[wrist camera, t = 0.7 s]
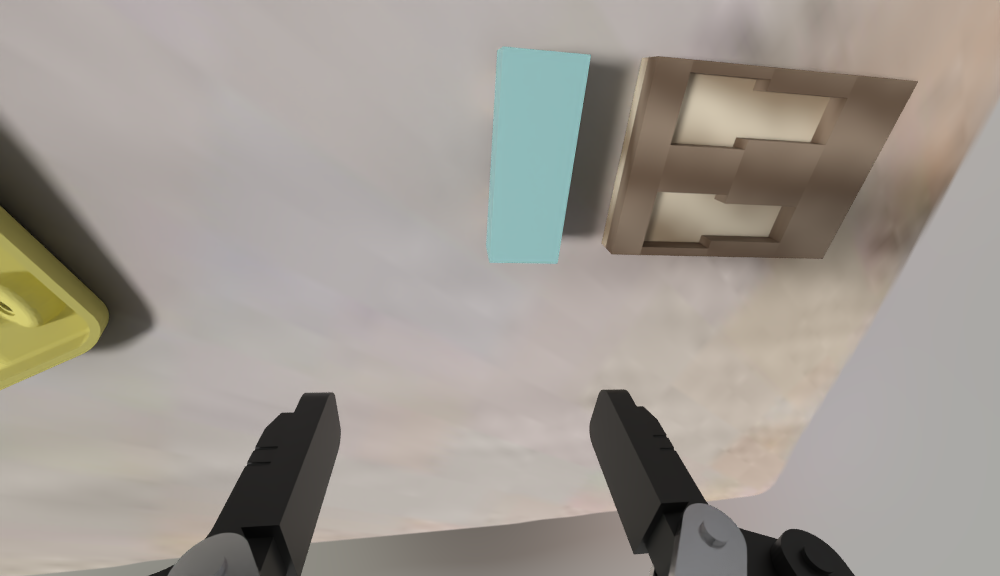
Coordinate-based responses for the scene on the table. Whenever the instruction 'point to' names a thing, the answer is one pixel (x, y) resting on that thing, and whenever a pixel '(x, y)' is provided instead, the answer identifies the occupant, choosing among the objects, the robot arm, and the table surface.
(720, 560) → the robot arm
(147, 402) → the table surface
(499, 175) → the panel
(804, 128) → the slot board
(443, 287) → the table surface
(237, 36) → the table surface
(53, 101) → the table surface
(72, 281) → the plastic component
